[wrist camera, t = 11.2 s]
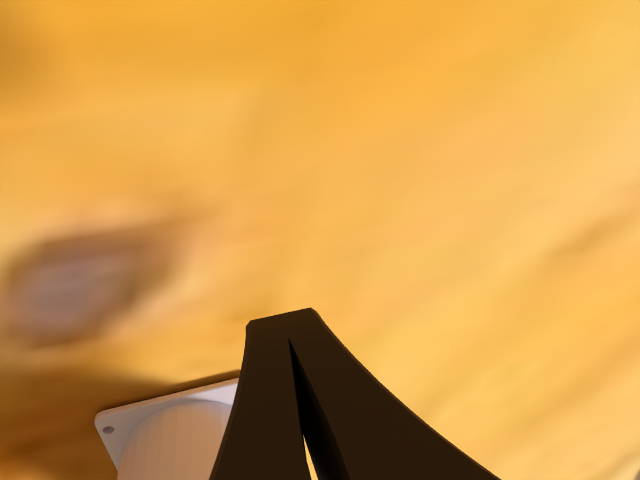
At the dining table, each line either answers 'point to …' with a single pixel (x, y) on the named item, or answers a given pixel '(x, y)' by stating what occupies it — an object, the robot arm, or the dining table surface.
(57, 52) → the dining table surface
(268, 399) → the robot arm
